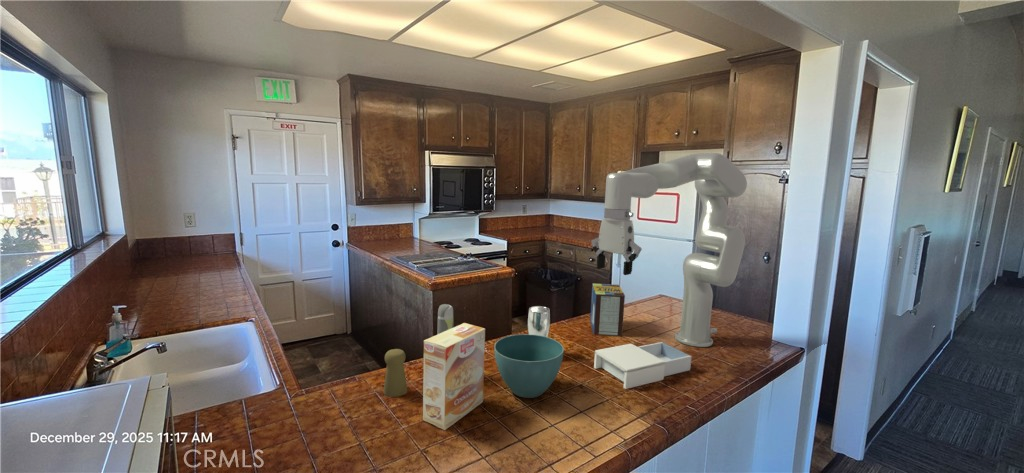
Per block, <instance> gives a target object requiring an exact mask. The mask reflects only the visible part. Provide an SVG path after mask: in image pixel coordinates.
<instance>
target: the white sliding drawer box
mask: <svg viewBox="0 0 1024 473" xmlns="http://www.w3.org/2000/svg"><path fill="white" fill-rule="evenodd" d="M638 347H639V348H641V349H642V350H644V351H646V352H648V353H650V354H652V355H654V356H656V357H658V358H660V359H661V360H663V361H665V368H664V377H667V376H671V375H675V374H680V373H684V372H688V371H691V365H692V355H689V354H688V353H686V352H683V351H681V350H679V349H677V348H676V347H673V346H671V345H669V344H667V343H665V342H663V341H660V342H655V343H651V344H649V343H648V344H646V345H645V344H644V345H640V346H638ZM601 369H604V370H605V371H606V372H608V373H609V374H611V375H612V376H614V377H615V378H616V379H618V380H620V381H621V382H622V383H624V375H625V371H623V370H621V369H620V368H618V367H617V366H615V365H613V364H612V363H610V362H609V361H607V360H605V359H604V358H602V368H601Z"/></svg>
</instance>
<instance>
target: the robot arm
mask: <svg viewBox="0 0 1024 473" xmlns="http://www.w3.org/2000/svg"><path fill="white" fill-rule="evenodd" d="M605 179H606V180H605V193H604V194H605V195H604V209H603V210H604V211H603V212H604V214H603V218H602V220H601V223H600V228H599V233H598V237H595V238H593V239H591V240H590V242H591V245H592V250H593V251H594V253H595V256H596V269H598V270H600V269H605V268H606V266H605V265H606V255H605V253H607V252H608V253H613V254H615V255H616V254H617V255H622V256H623V258H624V260H625V261H623V270H622V271H623V272H622V274H623V275H624V276H628V275H631V274H632V272H633V264H634V263H633V262H634V261H635V260H636V259H637V258H639V255H640V253H641V251H642V247H641V246H640V245H639V244H637V243H636V242H635V229H634V222H633V220H631V218H633V217H634V212H632V210H631V208H632V207H631V206H632V198H635V199H648V198H651V197H653V196H654V195H655V194H656V193H657V191H658V190H659V189H661V190H663V189H664V190H665V189H673V188H677V187H680V186H683V185H686V184H688V183H692V182H694V188H695V190H696V193H697V194H698V196H699V199H700V202H701V205H702V210H701V214H700V219H699V221H698V226H697V229H696V233H695V239H694V241H695V242H694V243H695V244H696V247H698V248H699V249H701V250H704V251H709V252H714V253H719V256H717V255H712V254H707V253H701V252H692V253H690V254H688V255H687V256H685V258H684V259H683V261H682V262H683V263H682V273H683V296H682V305H681V306H682V307H681V316H680V325H679V326H680V327H679V328H680V329H679V331H676V332H675V333H674V339H675V340H676V341H677V342H679V343H681V344H684V345H686V346H690V347H691V346H692V347H694V348H695V347H697V348H708V347H711V346H713V344H714V340H713V338H712V337H711V335H714V334H717V333H718V329H717V328H716V327H711V319H712V318H711V317H712V308H713V307H712V306H713V298H714V292H713V289H712V285H713V286H717V287H724V288H726V287H729V286H731V285H732V284H733V283H734V282H735V280H736V278H737V275H738V271H739V269H740V268H739V267H740V266H741V265H740V264H741V260H742V257H743V254H744V250H745V246H746V238H745V233H744V231H743V230H742V229H741V228H739V227H738V226H734V225H727V224H728V220H729V217H730V216H729V215H730V208H729V206H728V203H727V201H726V199H725V198H731V199H733V198H738V197H741V196H742V195H743V194H744V193H745V191H746V190H747V187H748V182H747V177H746V175H745V174H744V173H743V171H742V170H741V169H740V168H738V166H736V165H735V164H734V163H733V161H731V160H730V159H729V158H728V157H727V156H725V155H724V154H721V153H717V152H711V153H710V152H707V153H704V152H703V153H701V152H699V153H692V154H689V155H685V156H680V157H678V158H675V159H673V160H672V159H671V160H668V161H664V162H658V163H654V164H648V165H645V166H639V167H636V168H635V167H634V168H632V169H629V170H624V171H622V172H610V173H608V174H607V176H606V178H605Z"/></svg>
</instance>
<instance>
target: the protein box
mask: <svg viewBox="0 0 1024 473" xmlns="http://www.w3.org/2000/svg"><path fill="white" fill-rule="evenodd" d="M591 287H592V288H591V303H590V319H589V320H590V326H591V329H592V330H591V331H592V335H597V336H610V337H611V336H612V337H623V331H624V330H623V328H624V315H625V299H626V295H625V293H624V291H623V289H622V288H621V287H620V284H608V283H592V286H591Z"/></svg>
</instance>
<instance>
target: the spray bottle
mask: <svg viewBox="0 0 1024 473" xmlns="http://www.w3.org/2000/svg"><path fill="white" fill-rule="evenodd" d="M437 310H438V311H437V328H436V329H437V331H436V332H437V334H436V335H438V334H440V333H442V332H444V331H447V330H449V329H451V328H454V327H455V326H454V325H455V323H454V322H455V321H454V320H455V319H454V308H453V306H452V305H450V304H447V303H443V304H440V305H439V307H438V309H437Z"/></svg>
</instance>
